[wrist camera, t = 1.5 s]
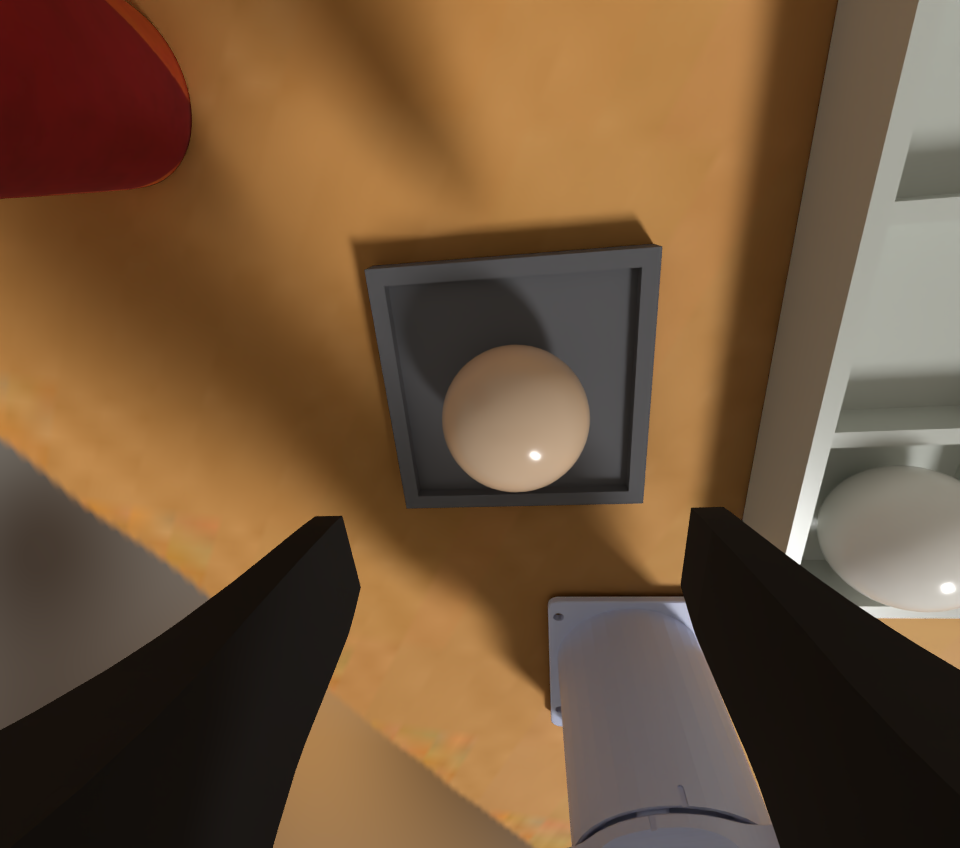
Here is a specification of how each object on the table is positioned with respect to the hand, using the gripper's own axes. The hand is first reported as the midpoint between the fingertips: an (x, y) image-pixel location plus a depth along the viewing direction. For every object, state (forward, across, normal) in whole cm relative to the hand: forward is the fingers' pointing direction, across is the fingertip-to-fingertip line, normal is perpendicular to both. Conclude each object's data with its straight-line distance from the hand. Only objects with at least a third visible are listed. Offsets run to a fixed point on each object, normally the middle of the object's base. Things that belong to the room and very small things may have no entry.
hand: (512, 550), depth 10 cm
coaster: (+10, 0, 0) cm, 10 cm away
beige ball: (+9, 0, 0) cm, 9 cm away
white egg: (+9, -14, +5) cm, 17 cm away
